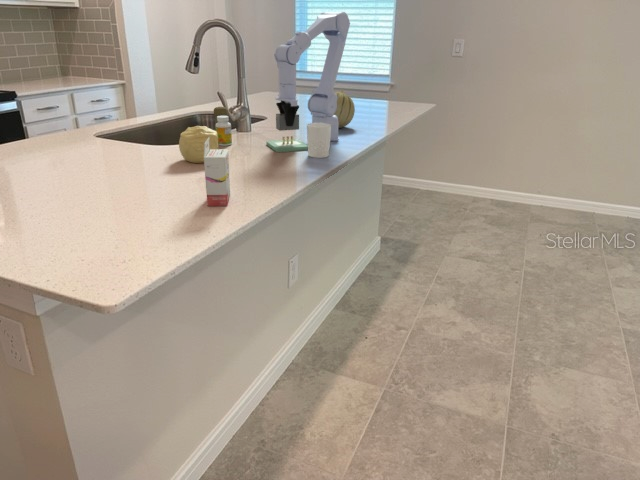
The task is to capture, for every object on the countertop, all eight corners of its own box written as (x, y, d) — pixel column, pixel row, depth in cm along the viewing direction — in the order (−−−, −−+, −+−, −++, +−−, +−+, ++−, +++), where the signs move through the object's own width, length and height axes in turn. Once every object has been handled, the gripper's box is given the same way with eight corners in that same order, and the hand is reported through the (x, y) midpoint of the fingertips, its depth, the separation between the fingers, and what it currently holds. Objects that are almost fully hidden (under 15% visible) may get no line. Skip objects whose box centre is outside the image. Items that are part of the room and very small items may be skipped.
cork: (226, 138, 184) (225, 108, 179) (211, 137, 185) (209, 107, 180) (232, 135, 189) (231, 106, 185) (217, 134, 190) (215, 105, 186)
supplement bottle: (213, 144, 175) (211, 116, 171) (225, 142, 179) (224, 114, 175) (222, 146, 172) (221, 118, 168) (235, 144, 175) (233, 116, 172)
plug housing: (295, 127, 173) (295, 112, 171) (299, 129, 170) (299, 114, 168) (276, 128, 171) (275, 113, 169) (279, 130, 168) (279, 115, 166)
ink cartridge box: (228, 206, 116) (224, 144, 110) (206, 206, 115) (202, 144, 110) (231, 195, 124) (228, 136, 118) (211, 195, 123) (206, 136, 117)
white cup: (333, 154, 165) (334, 123, 161) (326, 159, 158) (326, 128, 154) (311, 151, 167) (311, 122, 163) (303, 157, 160) (303, 126, 156)
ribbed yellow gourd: (313, 129, 204) (313, 91, 198) (326, 123, 216) (327, 87, 210) (347, 132, 199) (348, 93, 193) (358, 126, 211) (360, 89, 205)
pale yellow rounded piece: (185, 167, 147) (182, 130, 143) (176, 158, 157) (173, 123, 152) (223, 163, 152) (221, 127, 147) (212, 154, 161) (209, 121, 157)
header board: (298, 142, 180) (298, 132, 179) (310, 149, 170) (310, 138, 169) (266, 144, 176) (266, 134, 175) (276, 152, 166) (276, 141, 164)
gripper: (269, 81, 169) (270, 121, 175) (282, 86, 157) (283, 129, 162) (289, 81, 172) (289, 120, 177) (303, 85, 159) (303, 128, 165)
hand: (287, 124), depth 170 cm, fingers closed on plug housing, 4 cm apart
